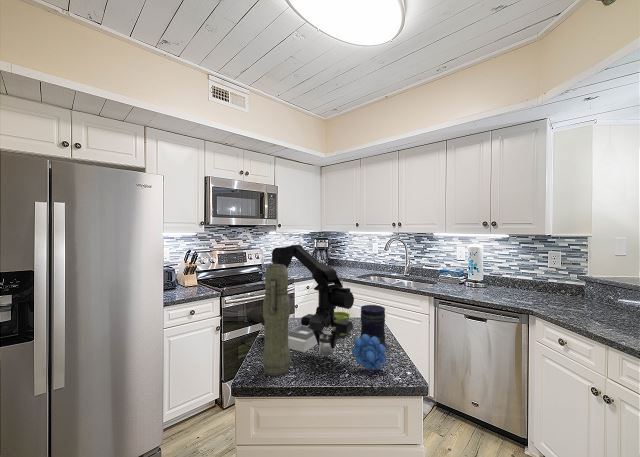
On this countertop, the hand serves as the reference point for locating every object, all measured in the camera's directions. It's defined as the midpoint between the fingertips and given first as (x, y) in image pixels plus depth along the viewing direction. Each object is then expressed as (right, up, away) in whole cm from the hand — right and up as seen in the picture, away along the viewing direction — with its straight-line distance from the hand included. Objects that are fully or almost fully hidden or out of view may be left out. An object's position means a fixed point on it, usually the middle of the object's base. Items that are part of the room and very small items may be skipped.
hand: (326, 346), depth 103 cm
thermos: (-17, -5, -7) cm, 19 cm away
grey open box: (-9, -5, +13) cm, 17 cm away
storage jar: (+19, -5, +13) cm, 24 cm away
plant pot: (+7, -5, +25) cm, 26 cm away
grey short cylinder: (0, -2, 0) cm, 2 cm away
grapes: (+14, -5, -9) cm, 17 cm away
